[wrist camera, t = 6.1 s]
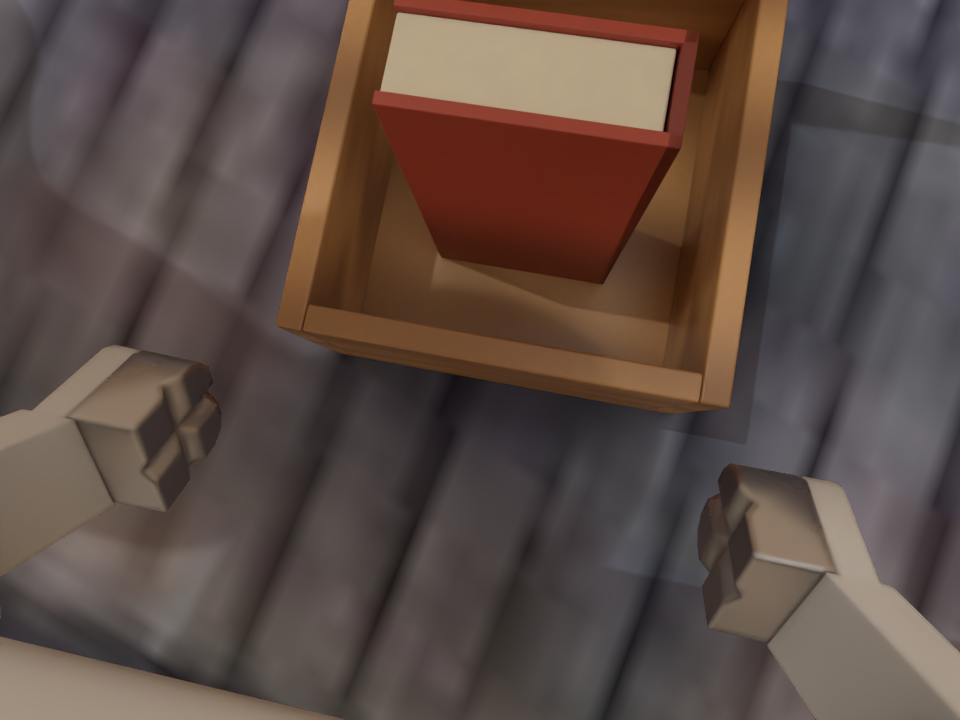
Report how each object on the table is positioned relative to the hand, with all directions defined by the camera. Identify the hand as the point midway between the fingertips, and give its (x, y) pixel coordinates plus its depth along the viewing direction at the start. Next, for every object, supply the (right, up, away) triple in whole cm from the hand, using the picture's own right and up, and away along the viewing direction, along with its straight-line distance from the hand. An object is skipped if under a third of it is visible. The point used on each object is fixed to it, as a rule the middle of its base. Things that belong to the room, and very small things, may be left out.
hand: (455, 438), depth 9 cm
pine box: (+2, +7, +14) cm, 15 cm away
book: (+2, +6, +13) cm, 14 cm away
